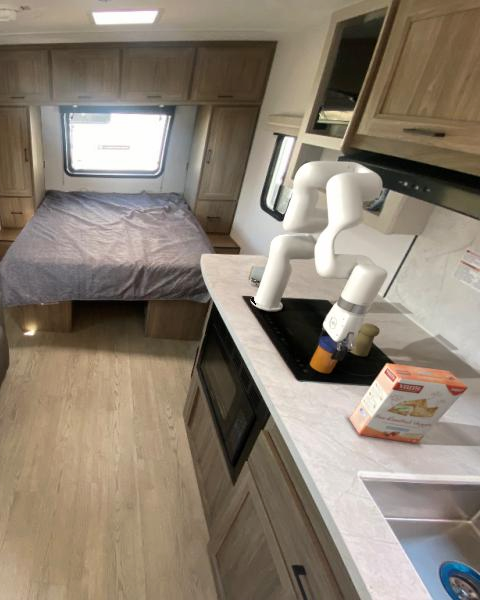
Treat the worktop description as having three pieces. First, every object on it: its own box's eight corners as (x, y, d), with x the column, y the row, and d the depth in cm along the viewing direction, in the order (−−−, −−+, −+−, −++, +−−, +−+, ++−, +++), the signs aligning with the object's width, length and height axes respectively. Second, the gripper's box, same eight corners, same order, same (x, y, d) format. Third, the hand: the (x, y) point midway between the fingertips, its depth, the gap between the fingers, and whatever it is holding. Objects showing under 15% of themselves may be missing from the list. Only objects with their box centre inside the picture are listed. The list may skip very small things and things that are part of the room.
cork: (359, 357, 114) (374, 332, 109) (343, 347, 119) (356, 322, 114) (372, 354, 116) (387, 329, 110) (355, 344, 121) (369, 319, 115)
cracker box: (359, 436, 86) (400, 378, 76) (347, 418, 92) (384, 361, 81) (419, 446, 84) (470, 387, 74) (404, 426, 90) (449, 369, 79)
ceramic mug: (248, 276, 169) (252, 262, 165) (266, 280, 165) (270, 266, 161) (245, 284, 161) (250, 270, 157) (264, 288, 157) (269, 274, 153)
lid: (341, 343, 107) (343, 339, 106) (347, 356, 102) (349, 351, 101) (316, 338, 109) (318, 333, 109) (320, 350, 104) (323, 345, 103)
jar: (306, 359, 113) (317, 337, 108) (326, 361, 112) (338, 339, 107) (314, 371, 108) (326, 349, 103) (335, 374, 107) (348, 352, 102)
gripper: (326, 289, 105) (306, 332, 114) (353, 319, 91) (328, 366, 100) (352, 292, 104) (330, 335, 113) (384, 322, 89) (355, 369, 98)
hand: (329, 349), depth 106 cm, fingers open, 8 cm apart
